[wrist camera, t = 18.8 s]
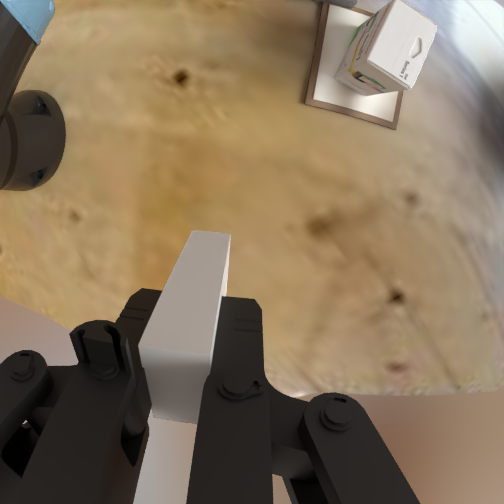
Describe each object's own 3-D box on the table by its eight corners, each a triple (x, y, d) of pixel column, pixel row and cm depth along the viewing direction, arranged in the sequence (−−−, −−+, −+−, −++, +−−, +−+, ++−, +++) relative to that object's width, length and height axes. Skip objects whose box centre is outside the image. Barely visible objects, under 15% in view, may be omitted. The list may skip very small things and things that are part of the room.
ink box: (357, 25, 27) (396, -7, 16) (391, 45, 28) (440, 24, 17) (331, 78, 30) (365, 60, 19) (367, 98, 31) (413, 92, 20)
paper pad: (304, 104, 32) (305, 103, 32) (322, -1, 26) (324, -3, 26) (394, 129, 33) (396, 129, 32) (409, 29, 27) (411, 28, 26)
